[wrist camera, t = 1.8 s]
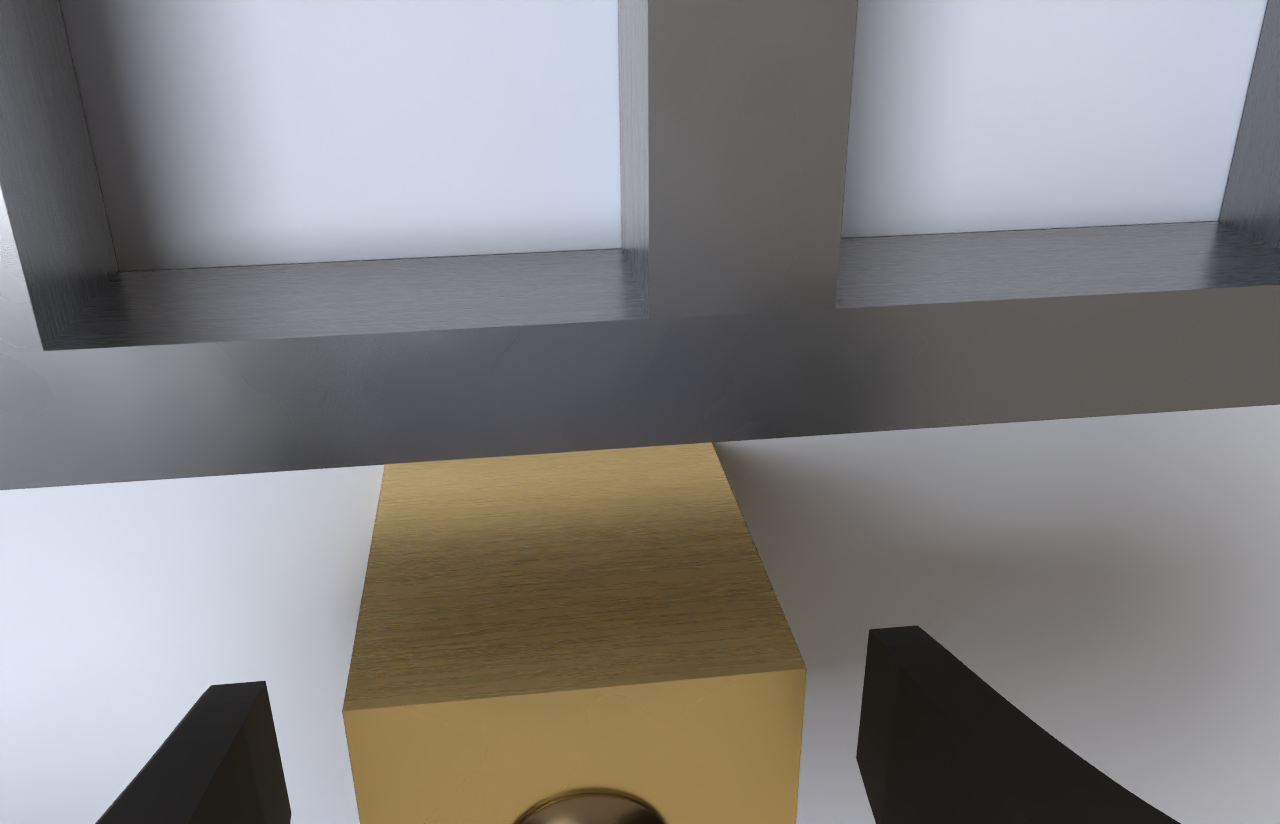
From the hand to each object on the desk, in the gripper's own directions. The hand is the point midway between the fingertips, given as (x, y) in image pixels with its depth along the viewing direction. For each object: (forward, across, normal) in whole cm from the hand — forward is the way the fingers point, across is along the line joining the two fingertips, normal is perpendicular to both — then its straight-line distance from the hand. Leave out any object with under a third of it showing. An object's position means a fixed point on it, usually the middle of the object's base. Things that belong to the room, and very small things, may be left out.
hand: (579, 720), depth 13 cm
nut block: (+3, 0, 0) cm, 3 cm away
